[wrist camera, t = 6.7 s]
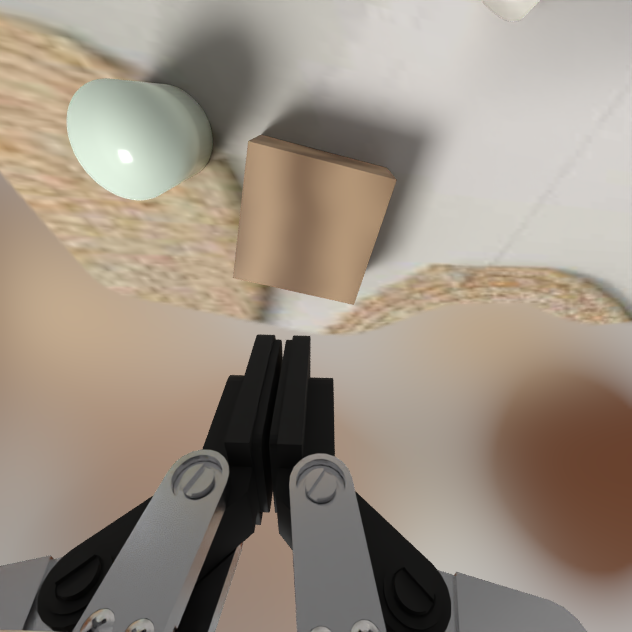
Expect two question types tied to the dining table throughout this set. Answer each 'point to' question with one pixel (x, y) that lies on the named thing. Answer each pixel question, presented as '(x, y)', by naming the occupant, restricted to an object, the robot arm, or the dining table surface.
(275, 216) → the tan box
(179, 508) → the robot arm
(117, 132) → the pale green rounded cylinder
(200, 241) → the dining table surface
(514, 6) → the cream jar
